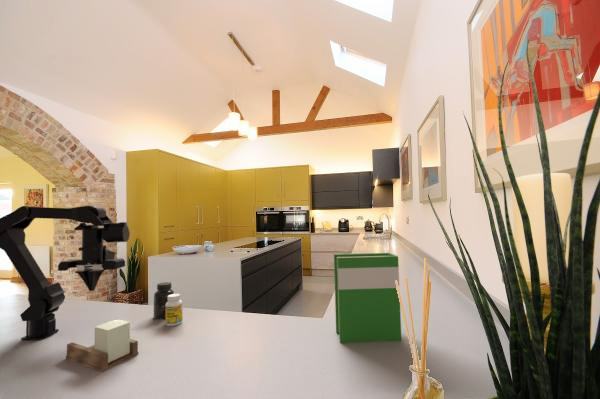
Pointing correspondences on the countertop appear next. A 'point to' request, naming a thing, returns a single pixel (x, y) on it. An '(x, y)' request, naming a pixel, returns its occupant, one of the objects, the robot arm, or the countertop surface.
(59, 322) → the countertop surface
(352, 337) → the hardback book
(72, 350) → the wooden tray holder
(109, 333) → the sage block
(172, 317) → the supplement bottle
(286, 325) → the countertop surface
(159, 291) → the supplement bottle
